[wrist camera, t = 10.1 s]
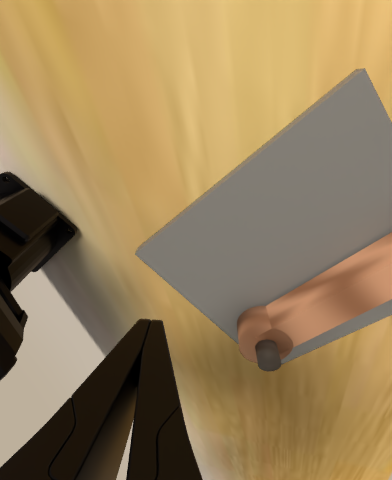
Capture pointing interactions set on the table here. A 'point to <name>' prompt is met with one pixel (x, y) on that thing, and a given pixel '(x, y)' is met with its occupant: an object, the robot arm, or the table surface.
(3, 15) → the table surface
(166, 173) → the table surface
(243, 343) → the link
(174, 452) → the robot arm
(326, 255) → the board
